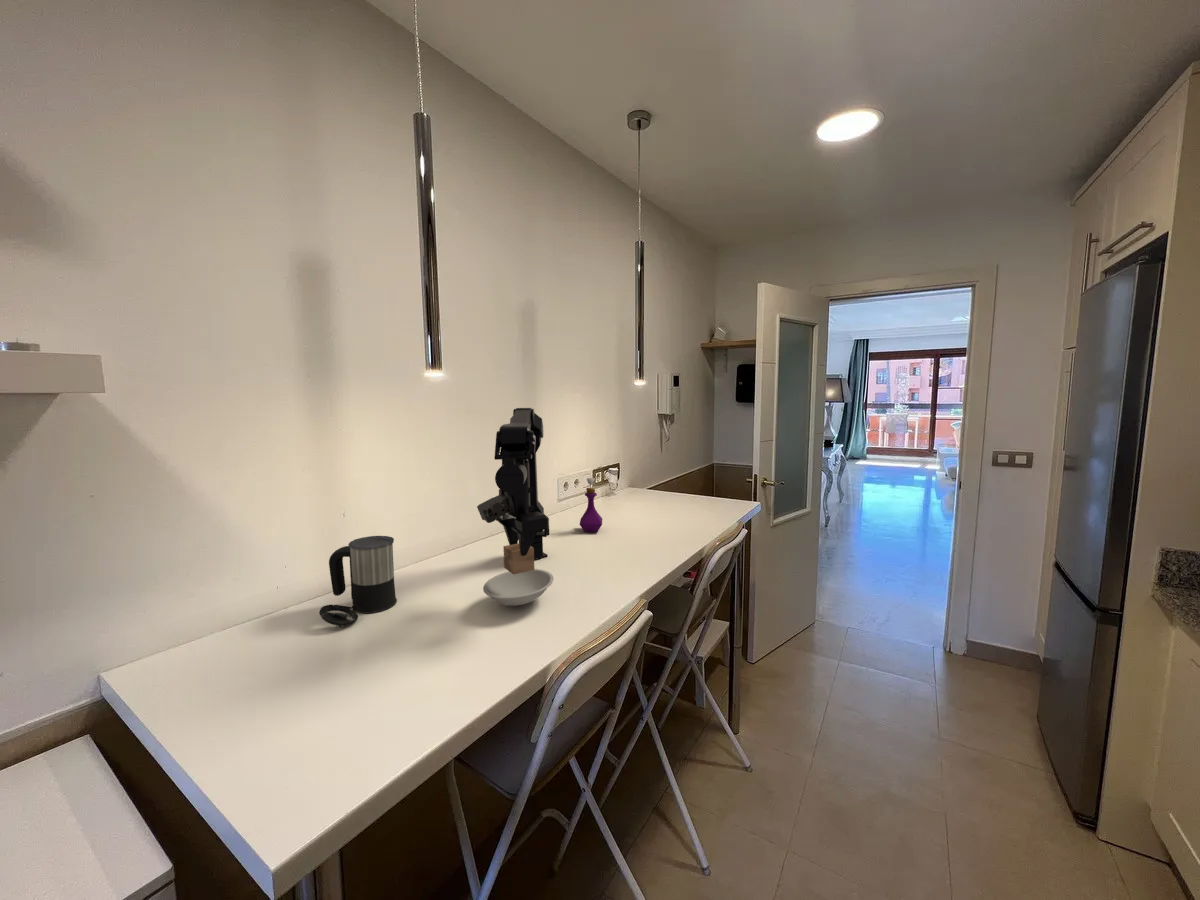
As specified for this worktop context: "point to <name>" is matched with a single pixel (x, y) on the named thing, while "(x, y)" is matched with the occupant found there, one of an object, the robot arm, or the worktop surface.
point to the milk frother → (362, 579)
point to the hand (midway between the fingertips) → (518, 552)
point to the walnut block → (518, 559)
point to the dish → (518, 586)
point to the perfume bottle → (591, 512)
